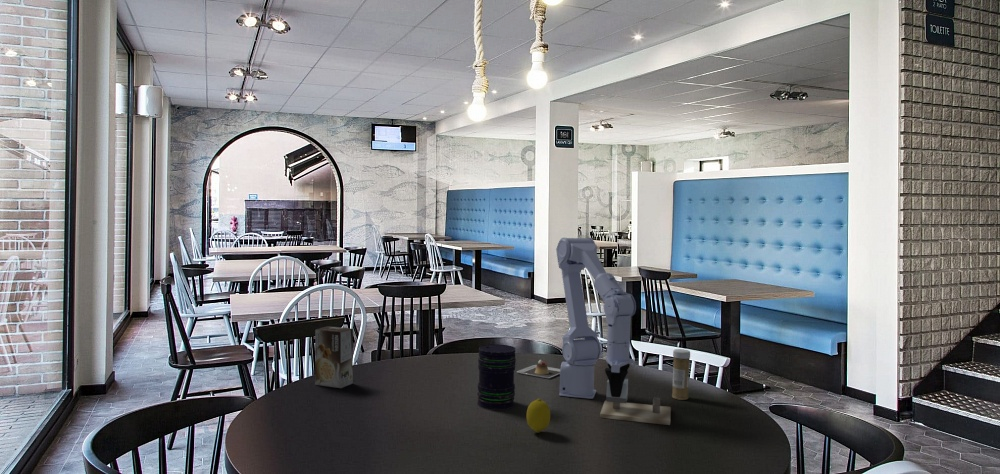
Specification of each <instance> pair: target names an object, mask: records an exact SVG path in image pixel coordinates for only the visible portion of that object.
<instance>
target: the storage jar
mask: <svg viewBox="0 0 1000 474" xmlns="http://www.w3.org/2000/svg"><path fill="white" fill-rule="evenodd" d="M477 361H478V362H477V363H478V365H477V368H478V383H477V406H478V408H479V407H480V408H481V409H485V410H490V411H491V410H492V411H503V410H504V411H505V410H508V409H512V408H513V407H514V406H515V401H514V400H515V394H516V393H515V392H516V391H515V389H516V384H515V381H514V380H515V371H516V363H517V361H516V347H515V346H513V345H509V344H500V343H499V344H498V343H497V344H494V343H492V344H482V345H480V346H479V347H478V358H477Z"/></svg>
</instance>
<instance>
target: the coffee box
mask: <svg viewBox="0 0 1000 474" xmlns="http://www.w3.org/2000/svg"><path fill="white" fill-rule="evenodd" d="M314 335H315V336H314V337H315V339H314V340H315V345H314V346H315V347H314V348H315V351H314V352H315V353H314V356H315V359H314V361H315V363H314V364H315V365H314V368H315V369H314V370H315V371H314V372H315V374H314V375H315V378H314V379H315V380H314V381H315V382H314V385H316V386H320V387H321V386H322V387H328V388H338V389H343V388H345V387H347V386H350V385H352V384H353V383H354V382H353V381H354V380H353V377H354V376H353V373H354V372H353V371H354V370H353V369H354V368H353V361H354V360H353V359H354V357H353V355H354V351H353V350H354V328H349V327H340V326H330V325H327V326H323V327H320V328H317V329H315V333H314Z"/></svg>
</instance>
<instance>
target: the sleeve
mask: <svg viewBox="0 0 1000 474" xmlns="http://www.w3.org/2000/svg"><path fill="white" fill-rule="evenodd" d="M628 392H629V378H625V379H624V382H623V386H622V392H621V395H620V397H612V396H611V391H610V384H609V380H608V379H607V381H606V394H605V395H606V398H605V400H606V401H607V402H617V403H628V402H627V401H628V397H629V393H628Z"/></svg>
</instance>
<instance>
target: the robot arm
mask: <svg viewBox="0 0 1000 474" xmlns="http://www.w3.org/2000/svg"><path fill="white" fill-rule="evenodd" d="M597 247H598V246H597V244H596V242H595V240H594V239H593V238H592V237H581V238H580V237H561V238H560V239H559V241H558V243H557V245H556V248H555V250H556V257H557V263H558V269H560V270H561V276H562V277H561V278H562V281H563V282H562V283H563V284H562V285H563V290H564V297H565V302H566V310H567V317H568V324H569V329H568V331H567V332H566V333H565V334H564V335H562V349H561V352H562V356H563V358H564V360H565V361H562V362H561V365H560V368H559V369H560V372H559V373H560V374H559V391H558V392H559V394H558V396H560V397H570V398H581V399H588V400H589V399H590V400H591V399H594V398H595V395H596V393H597V390H596V389H595V388H594V387H595V385H594V384H595V383H594V382H595V364H598V363H597V362H598V360H600V358H601V355H602V345H601V343H600V341H599V338H598V333H597V332H596V331H595V330H593V328H591V327H589V322H588V314H587V310H586V309H587V307H586V303H585V296H584V289H583V283H582V276H581V272H582V270H583V269H585V268H586V269H587V271H588V272H589V274H590V275H591V276H592V278H593V279H594V283H593V286H594V288H595V290H596V291H597V292H596V293H597V294H599V296H600V298H601V299H602V301H603V303H604V304H603V305H602V306H603V311H604V314H605V321H606V324H607V333H606V334H607V338H606V340H607V341H606V357H605V361H606V363H607V366H608V367H605V369H604V373H605V376H606V377H607V380H609V384H610V391H611V396H612V397H620V395H621V392H622V386H623V382H624V379H626V377H627V375H628V373H629V371H628V370H629V368H630V366H631V364H634V363H635V359H634V358H630V345H631V325H632V324H631V319H632V318H631V317H633V316H634V315H635V314H636V311H637V305H636V304H637V303H636V300H635V298H634V296H633V294H630V293H627V292H626V291H624V290H623V289H622V287H621V285H620V283H618V281H617V279H616V277H615V276H614V275H613V274H612V273H607V272H606V269H605V268H604V265H603V264H602V262H601V259H600V258H599V256H598V254H597V253H598V248H597Z"/></svg>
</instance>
